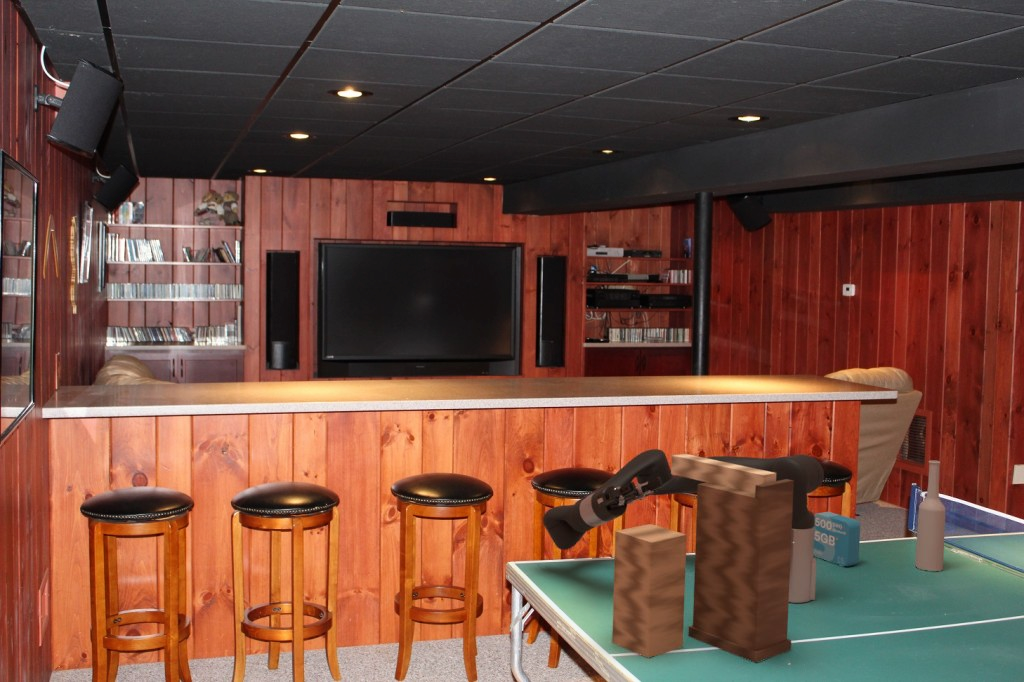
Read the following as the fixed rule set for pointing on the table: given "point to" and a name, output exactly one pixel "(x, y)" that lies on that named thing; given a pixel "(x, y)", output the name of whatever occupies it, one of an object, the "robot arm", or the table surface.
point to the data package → (836, 538)
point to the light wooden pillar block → (649, 589)
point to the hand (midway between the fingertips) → (647, 483)
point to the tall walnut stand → (743, 569)
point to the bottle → (931, 525)
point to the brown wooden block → (720, 472)
